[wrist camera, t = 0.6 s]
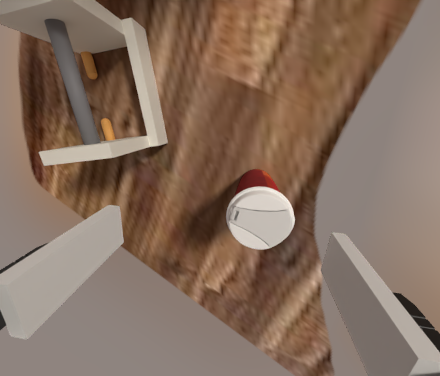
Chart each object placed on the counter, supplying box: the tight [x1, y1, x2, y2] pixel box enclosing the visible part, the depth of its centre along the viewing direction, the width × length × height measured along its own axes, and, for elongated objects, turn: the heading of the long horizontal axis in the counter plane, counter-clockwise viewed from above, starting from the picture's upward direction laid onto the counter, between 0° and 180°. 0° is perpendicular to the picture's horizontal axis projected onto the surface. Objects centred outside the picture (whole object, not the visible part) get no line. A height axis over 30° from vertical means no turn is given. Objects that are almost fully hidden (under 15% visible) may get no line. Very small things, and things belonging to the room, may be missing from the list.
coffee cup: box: [226, 169, 295, 249], centre depth 31 cm, size 8×8×15 cm
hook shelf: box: [0, 0, 168, 166], centre depth 30 cm, size 18×12×14 cm, turn 7°
